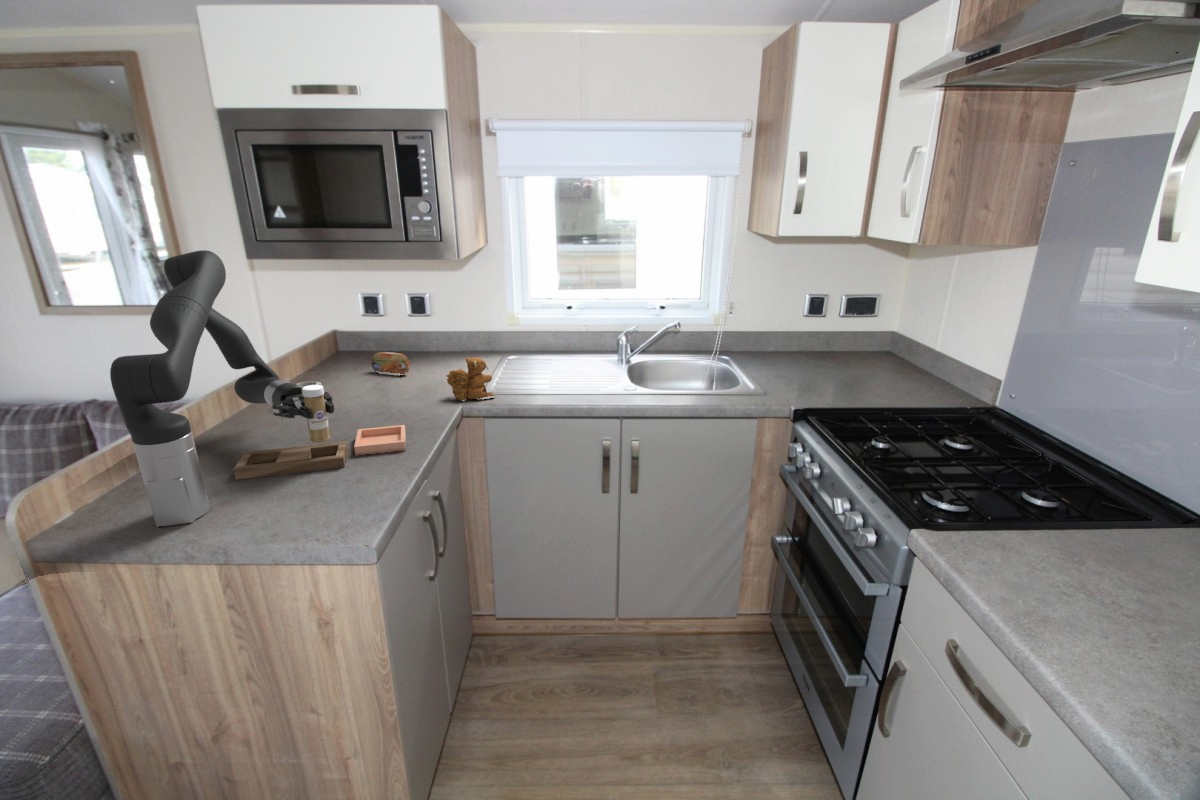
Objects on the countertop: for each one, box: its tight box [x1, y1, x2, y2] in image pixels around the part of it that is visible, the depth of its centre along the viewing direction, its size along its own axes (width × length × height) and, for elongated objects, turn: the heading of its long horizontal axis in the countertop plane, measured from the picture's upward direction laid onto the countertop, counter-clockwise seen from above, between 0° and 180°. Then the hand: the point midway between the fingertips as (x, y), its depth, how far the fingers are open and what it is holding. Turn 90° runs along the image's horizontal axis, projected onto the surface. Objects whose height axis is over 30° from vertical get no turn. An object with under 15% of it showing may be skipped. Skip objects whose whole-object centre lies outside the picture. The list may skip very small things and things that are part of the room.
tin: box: [370, 351, 411, 375], centre depth 208 cm, size 15×3×8 cm, turn 73°
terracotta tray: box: [353, 424, 407, 457], centre depth 149 cm, size 12×12×2 cm
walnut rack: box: [233, 441, 349, 480], centre depth 137 cm, size 10×23×2 cm, turn 108°
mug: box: [295, 380, 323, 387], centre depth 178 cm, size 10×7×7 cm, turn 168°
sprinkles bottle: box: [302, 385, 331, 444], centre depth 135 cm, size 5×5×14 cm
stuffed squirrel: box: [445, 356, 495, 401], centre depth 184 cm, size 10×14×13 cm
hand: (321, 411), depth 133 cm, fingers closed on sprinkles bottle, 4 cm apart
